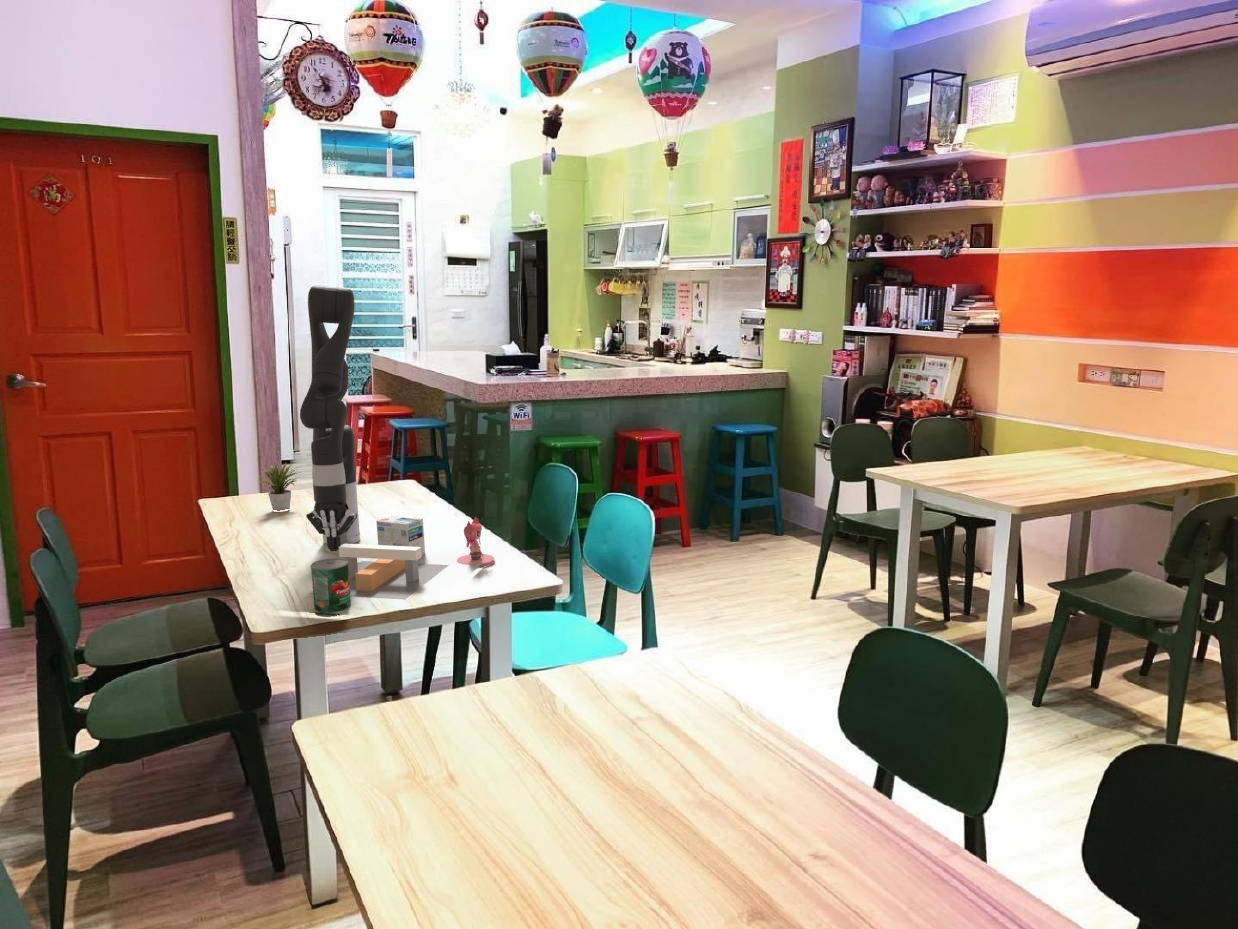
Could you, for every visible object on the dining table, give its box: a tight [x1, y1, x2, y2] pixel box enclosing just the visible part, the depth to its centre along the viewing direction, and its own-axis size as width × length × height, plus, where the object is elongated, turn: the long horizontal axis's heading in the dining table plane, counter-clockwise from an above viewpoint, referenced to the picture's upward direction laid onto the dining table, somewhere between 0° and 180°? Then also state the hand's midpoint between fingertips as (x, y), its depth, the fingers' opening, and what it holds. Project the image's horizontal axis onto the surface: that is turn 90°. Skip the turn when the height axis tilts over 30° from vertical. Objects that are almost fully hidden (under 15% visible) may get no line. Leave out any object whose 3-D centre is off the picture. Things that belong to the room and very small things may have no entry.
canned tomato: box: [310, 557, 352, 618], centre depth 198 cm, size 8×8×11 cm
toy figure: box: [456, 516, 495, 569], centre depth 232 cm, size 10×10×12 cm
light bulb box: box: [376, 515, 426, 556], centre depth 237 cm, size 11×7×11 cm, turn 65°
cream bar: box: [338, 543, 423, 561], centre depth 217 cm, size 20×3×2 cm, turn 79°
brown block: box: [355, 559, 405, 591], centre depth 217 cm, size 4×18×4 cm, turn 169°
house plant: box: [259, 461, 303, 511], centre depth 290 cm, size 14×14×16 cm
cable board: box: [308, 557, 449, 600], centre depth 217 cm, size 24×26×6 cm
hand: (334, 550), depth 219 cm, fingers closed
